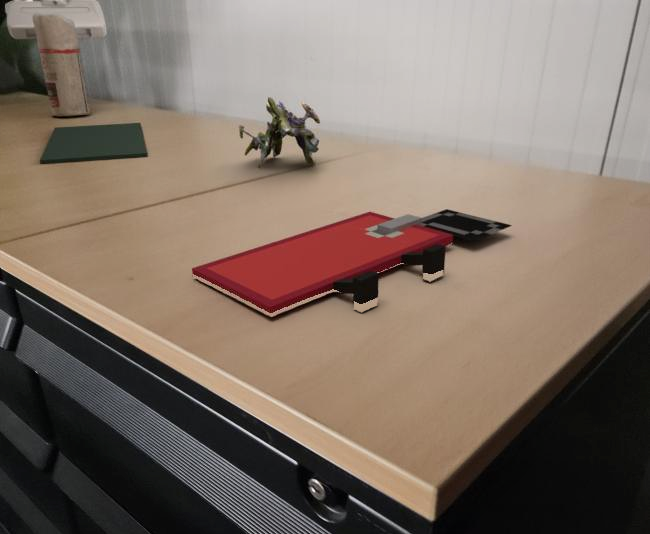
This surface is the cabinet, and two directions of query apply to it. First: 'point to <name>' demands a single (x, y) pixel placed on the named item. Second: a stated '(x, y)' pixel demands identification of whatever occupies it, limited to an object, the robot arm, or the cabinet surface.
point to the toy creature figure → (284, 132)
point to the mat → (94, 143)
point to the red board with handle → (342, 257)
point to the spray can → (61, 64)
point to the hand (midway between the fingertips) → (60, 50)
